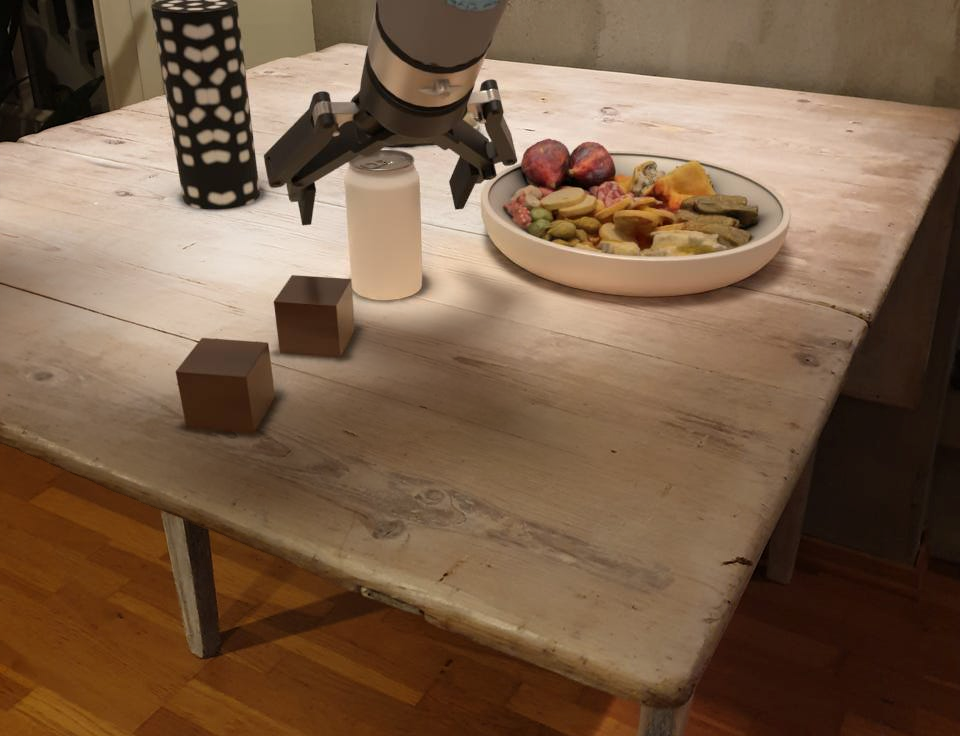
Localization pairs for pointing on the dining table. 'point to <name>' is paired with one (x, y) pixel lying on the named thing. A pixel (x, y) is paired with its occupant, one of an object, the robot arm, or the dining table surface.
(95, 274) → the dining table surface
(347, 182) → the can
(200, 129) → the spotted tube
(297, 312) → the far block
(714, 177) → the bowl
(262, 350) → the near block
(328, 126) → the robot arm
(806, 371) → the dining table surface
